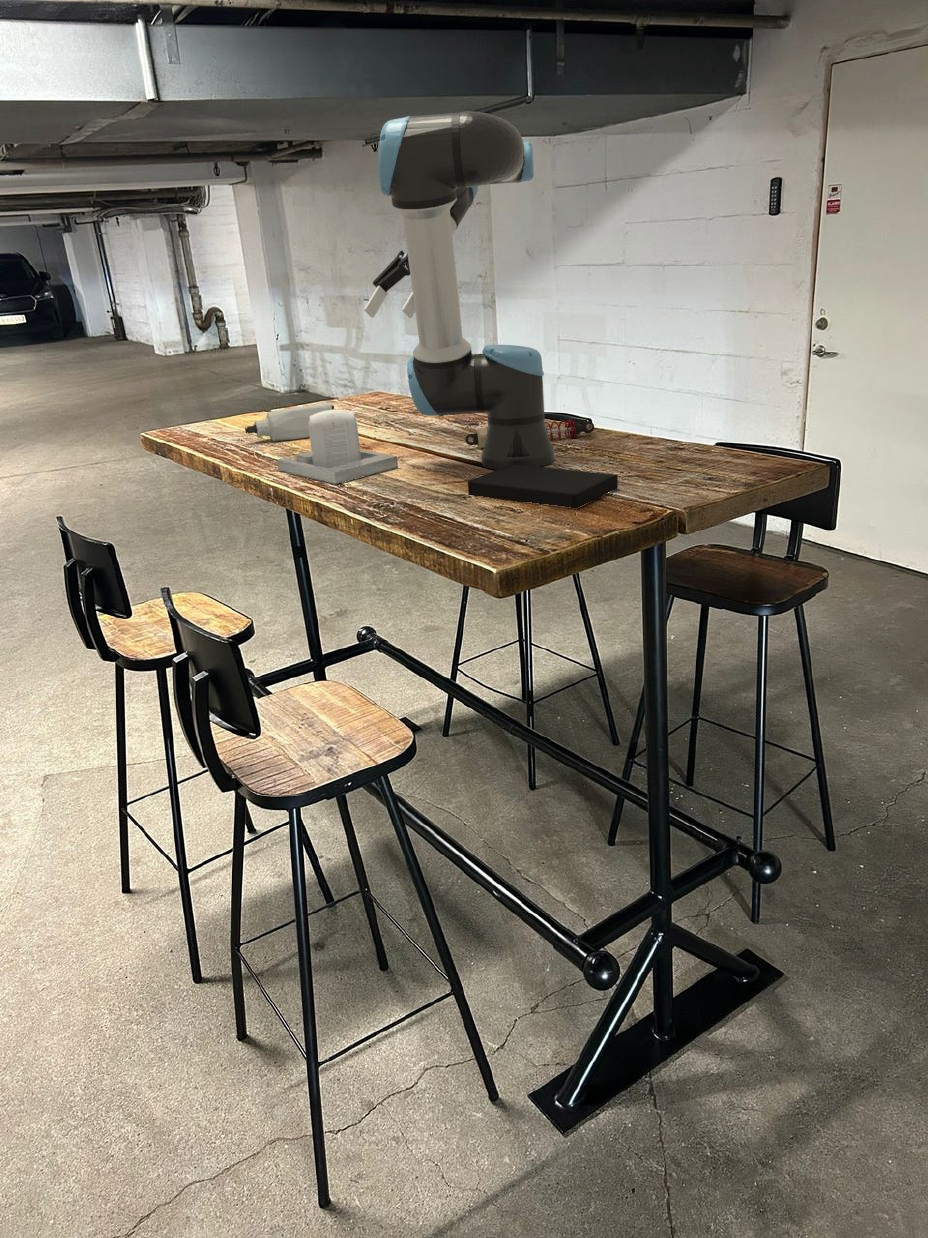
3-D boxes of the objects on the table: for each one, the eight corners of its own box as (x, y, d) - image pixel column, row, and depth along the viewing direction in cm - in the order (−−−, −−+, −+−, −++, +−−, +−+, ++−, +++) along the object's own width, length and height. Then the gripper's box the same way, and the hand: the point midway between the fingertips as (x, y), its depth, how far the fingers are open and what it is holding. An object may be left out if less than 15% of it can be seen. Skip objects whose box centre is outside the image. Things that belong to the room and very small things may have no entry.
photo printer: (361, 463, 193) (354, 405, 189) (363, 467, 190) (356, 409, 185) (313, 469, 192) (305, 411, 187) (314, 473, 188) (306, 414, 183)
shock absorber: (589, 418, 206) (462, 431, 201) (595, 414, 201) (465, 427, 196) (592, 439, 206) (465, 452, 201) (598, 435, 201) (468, 448, 196)
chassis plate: (398, 467, 188) (396, 456, 187) (335, 484, 179) (334, 472, 178) (338, 455, 204) (337, 445, 203) (278, 470, 194) (276, 459, 193)
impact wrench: (235, 422, 242) (244, 412, 218) (317, 411, 249) (334, 400, 225) (241, 451, 243) (250, 445, 220) (322, 440, 250) (339, 432, 227)
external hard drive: (576, 511, 150) (576, 494, 149) (468, 497, 164) (467, 481, 163) (617, 490, 161) (617, 474, 159) (512, 478, 174) (511, 463, 173)
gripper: (480, 244, 192) (434, 325, 189) (408, 250, 209) (364, 324, 206) (460, 218, 186) (412, 301, 183) (388, 226, 204) (342, 302, 201)
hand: (386, 313), depth 195 cm, fingers open, 13 cm apart
